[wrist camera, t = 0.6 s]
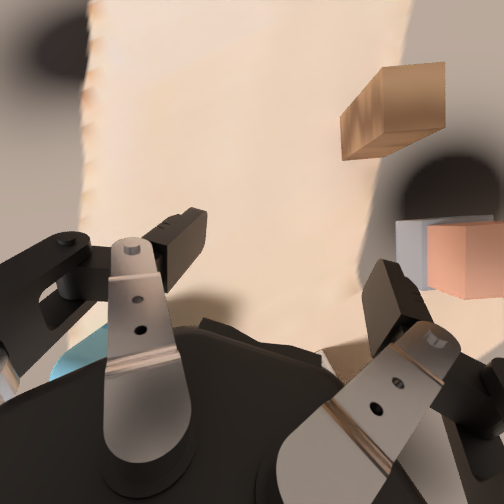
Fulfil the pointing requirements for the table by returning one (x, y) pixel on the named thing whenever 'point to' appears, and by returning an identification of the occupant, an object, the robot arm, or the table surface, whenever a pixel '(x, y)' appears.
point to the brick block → (466, 259)
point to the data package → (82, 353)
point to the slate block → (421, 244)
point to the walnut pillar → (394, 111)
